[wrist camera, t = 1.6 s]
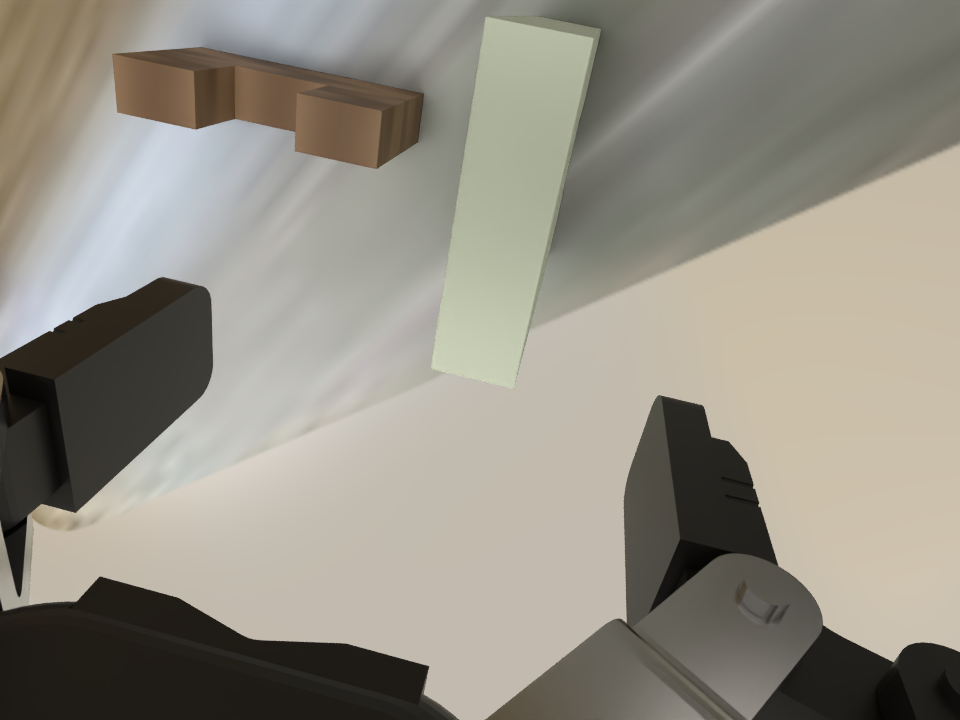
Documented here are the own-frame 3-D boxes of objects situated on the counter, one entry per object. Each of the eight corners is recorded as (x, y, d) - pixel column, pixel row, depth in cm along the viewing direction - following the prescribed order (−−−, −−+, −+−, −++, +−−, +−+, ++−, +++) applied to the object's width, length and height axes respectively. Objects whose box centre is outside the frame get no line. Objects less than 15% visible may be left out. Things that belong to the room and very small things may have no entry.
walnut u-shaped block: (202, 96, 36) (117, 112, 30) (200, 47, 35) (112, 53, 29) (417, 142, 35) (376, 168, 29) (423, 93, 34) (381, 111, 28)
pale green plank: (538, 16, 31) (485, 16, 18) (601, 29, 31) (593, 37, 18) (495, 242, 37) (430, 369, 24) (549, 254, 36) (513, 388, 23)
